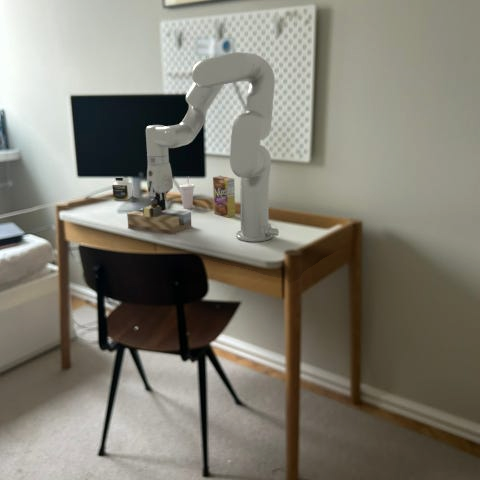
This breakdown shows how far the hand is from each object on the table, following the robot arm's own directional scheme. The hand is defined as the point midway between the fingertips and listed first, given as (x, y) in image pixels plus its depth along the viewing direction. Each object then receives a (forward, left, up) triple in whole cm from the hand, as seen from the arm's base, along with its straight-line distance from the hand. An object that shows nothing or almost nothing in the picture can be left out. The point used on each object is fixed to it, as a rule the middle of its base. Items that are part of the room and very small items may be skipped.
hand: (161, 209), depth 191 cm
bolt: (0, +5, -1) cm, 6 cm away
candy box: (-13, -25, -6) cm, 29 cm away
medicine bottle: (+44, -32, -6) cm, 55 cm away
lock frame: (0, +1, -6) cm, 6 cm away
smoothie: (+7, -29, -6) cm, 30 cm away
